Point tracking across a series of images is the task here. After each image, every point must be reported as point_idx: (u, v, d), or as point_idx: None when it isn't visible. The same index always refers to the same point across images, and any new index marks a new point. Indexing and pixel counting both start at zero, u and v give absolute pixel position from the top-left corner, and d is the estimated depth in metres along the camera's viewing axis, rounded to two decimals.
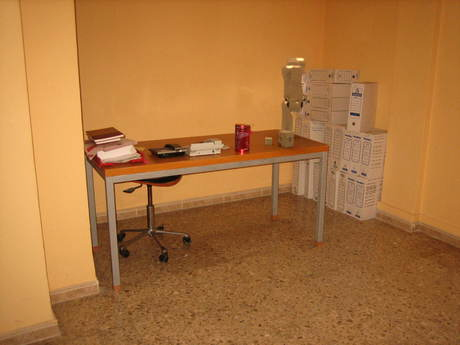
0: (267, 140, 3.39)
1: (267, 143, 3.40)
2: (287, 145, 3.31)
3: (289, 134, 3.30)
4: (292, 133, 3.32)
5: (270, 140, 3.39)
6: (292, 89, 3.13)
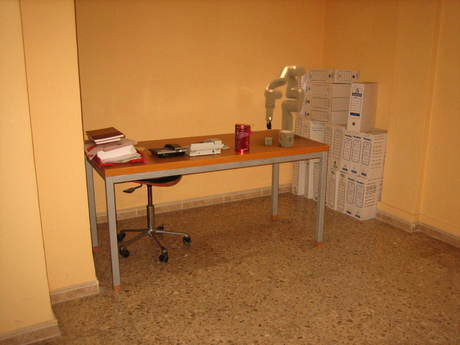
0: (267, 140, 3.39)
1: (267, 143, 3.40)
2: (287, 145, 3.31)
3: (289, 134, 3.30)
4: (292, 133, 3.32)
5: (270, 140, 3.39)
6: (272, 112, 3.32)
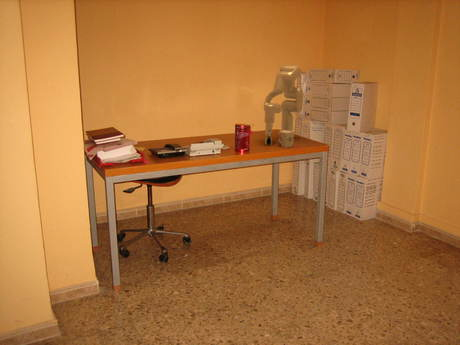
0: None
1: None
2: (287, 145, 3.31)
3: (289, 134, 3.30)
4: (292, 133, 3.32)
5: None
6: (272, 126, 3.36)
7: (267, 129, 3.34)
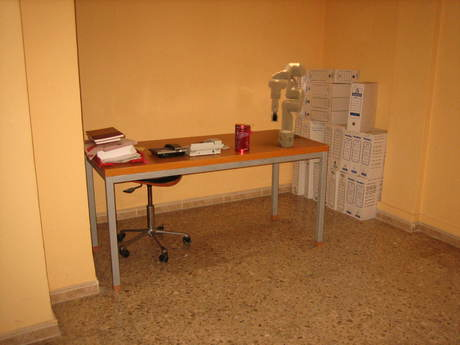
0: None
1: None
2: (287, 145, 3.31)
3: (289, 134, 3.30)
4: (292, 133, 3.32)
5: None
6: (278, 102, 3.29)
7: (273, 105, 3.28)
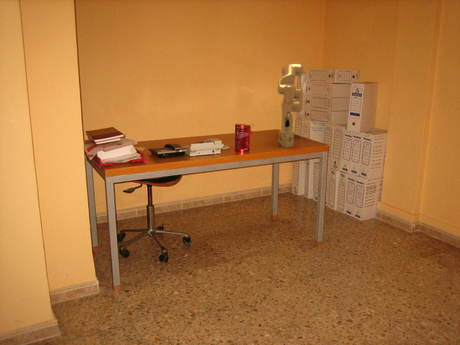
0: None
1: None
2: (287, 145, 3.31)
3: (289, 134, 3.30)
4: (292, 133, 3.32)
5: None
6: (291, 108, 3.25)
7: (286, 111, 3.24)
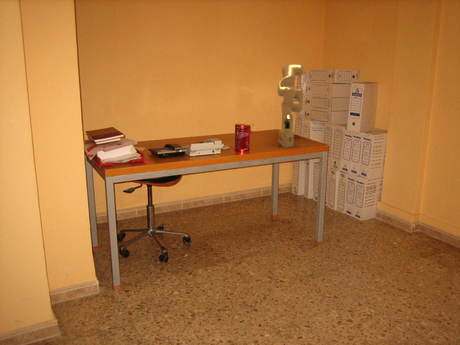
0: None
1: (285, 130, 3.30)
2: (287, 145, 3.31)
3: (289, 134, 3.30)
4: (292, 133, 3.32)
5: None
6: (291, 110, 3.26)
7: (286, 113, 3.25)
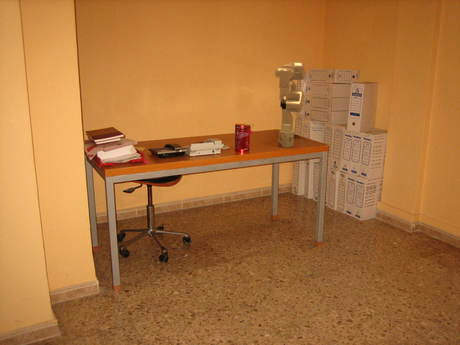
0: (285, 127, 3.30)
1: (285, 130, 3.30)
2: (287, 145, 3.31)
3: (289, 134, 3.30)
4: (292, 133, 3.32)
5: (288, 127, 3.30)
6: (287, 91, 3.31)
7: (282, 94, 3.30)
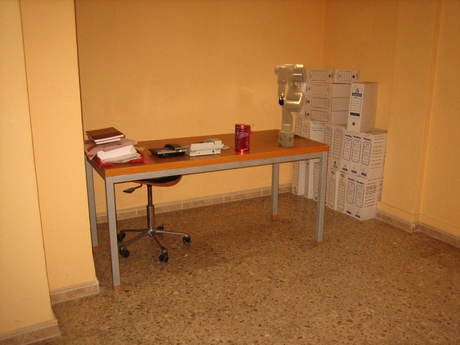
0: (285, 127, 3.30)
1: (285, 130, 3.31)
2: (287, 145, 3.31)
3: (289, 134, 3.30)
4: (292, 133, 3.32)
5: (288, 127, 3.30)
6: None
7: (280, 91, 3.33)
